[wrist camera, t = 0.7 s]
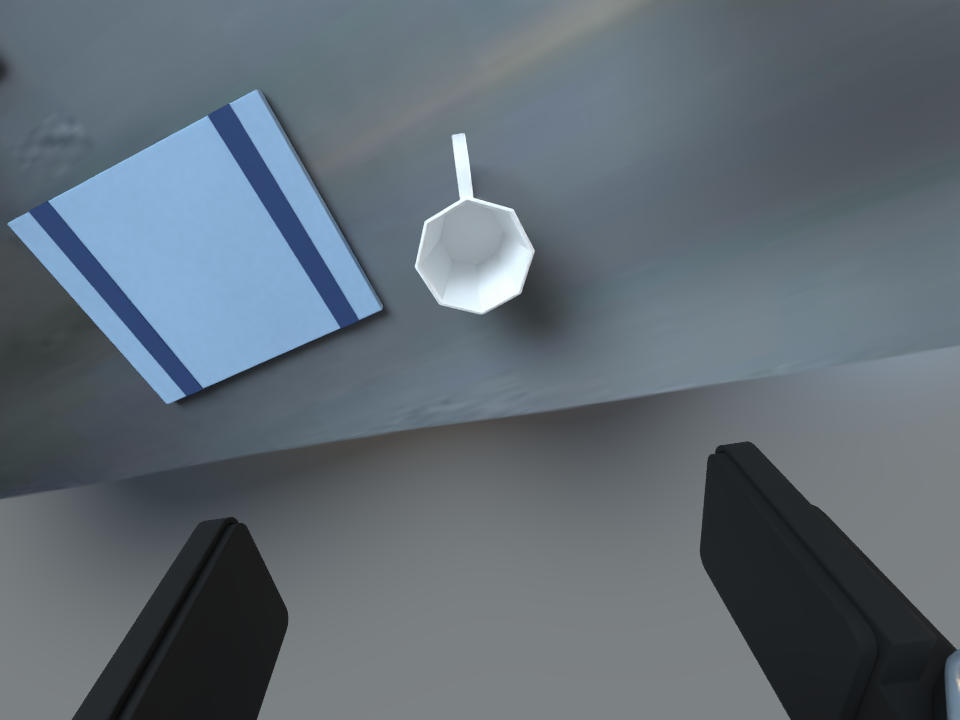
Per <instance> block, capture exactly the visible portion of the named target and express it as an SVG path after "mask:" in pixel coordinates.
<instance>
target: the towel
mask: <svg viewBox="0 0 960 720" xmlns="http://www.w3.org/2000/svg"><path fill="white" fill-rule="evenodd" d="M8 225H9V226H10V228H11V229H12V230H13V231H14V232H15V233H16V234H17V235H18V237H19V238H20V239H21V240H22V241H23V242H24V243H25V244H26V246H27V247H28V248H29V249H30V250H31V251H32V252H33V254H34V255H35V256H36V257H37V258H38V259H39V260H40V261H41V263H42V264H43V265H44V266H45V267H46V268H47V269H48V270H49V272H50V273H51V274H52V275H53V276H54V277H55V278H56V279H57V281H58V282H59V283H60V284H61V285H62V286H63V287H64V288H65V290H66V291H67V292H68V293H69V294H70V295H71V296H72V298H73V299H74V300H75V301H76V302H77V303H78V304H79V305H80V307H81V308H82V309H83V310H84V311H85V312H86V313H87V314H88V316H89V317H90V318H91V319H92V320H93V321H94V322H95V323H96V325H97V326H98V327H99V328H100V329H101V330H102V331H103V332H104V334H105V335H106V336H107V337H108V338H109V339H110V340H111V342H112V343H113V344H114V345H115V346H116V347H117V348H118V349H119V351H120V352H121V353H122V354H123V355H124V356H125V357H126V358H127V360H128V361H129V362H130V363H131V364H132V365H133V366H134V367H135V369H136V370H137V371H138V372H139V373H140V374H141V375H142V376H143V378H144V379H145V380H146V381H147V382H148V383H149V384H150V386H151V387H152V388H153V389H154V390H155V391H156V392H157V393H158V395H159V396H160V397H161V398H162V399H163V400H164V401H165V402H166V404H169V403H172V402H174V401H176V400H178V399H181V398H183V397H185V396H189V395H191V394H193V393H196V392H198V391H200V390H203V388H206V387H208V386H210V385H213V384H215V383H217V382H219V381H222V380H224V379H226V378H228V377H231V376H233V375H235V374H238V373H240V372H242V371H244V370H247V369H249V368H251V367H253V366H256V365H258V364H260V363H263V362H265V361H267V360H269V359H272V358H274V357H276V356H278V355H281V354H283V353H285V352H288V351H290V350H292V349H294V348H297V347H299V346H301V345H303V344H306V343H308V342H310V341H313V340H315V339H317V338H319V337H322V336H324V335H326V334H328V333H331V332H333V331H335V330H338V329H340V328H343V327H346V326H348V325H350V324H353V323H355V322H357V321H359V320H360V319H363V318H365V317H367V316H369V315H372V314H374V313H376V312H378V311H381V310H382V308H383V305H382V303H381V301H380V299H379V298H378V296H377V294H376V292H375V291H374V289H373V287H372V285H371V284H370V282H369V280H368V278H367V277H366V275H365V273H364V271H363V269H362V268H361V266H360V264H359V262H358V261H357V259H356V257H355V255H354V254H353V252H352V250H351V248H350V247H349V245H348V243H347V241H346V239H345V238H344V236H343V234H342V232H341V231H340V229H339V227H338V225H337V224H336V222H335V220H334V218H333V217H332V215H331V213H330V211H329V209H328V208H327V206H326V204H325V202H324V201H323V199H322V197H321V195H320V194H319V192H318V190H317V188H316V186H315V185H314V183H313V181H312V179H311V178H310V176H309V174H308V172H307V171H306V169H305V167H304V165H303V164H302V162H301V160H300V158H299V156H298V155H297V153H296V151H295V149H294V148H293V146H292V144H291V142H290V141H289V139H288V137H287V135H286V134H285V132H284V130H283V128H282V126H281V125H280V123H279V121H278V119H277V118H276V116H275V114H274V112H273V111H272V109H271V107H270V105H269V104H268V102H267V100H266V98H265V96H264V95H263V93H262V91H261V90H255V91H253V92H251V93H249V94H247V95H245V96H243V97H241V98H240V99H238V100H236V101H234V102H232V103H230V104H227V105H225V106H224V107H222V108H220V109H218V110H216V111H214V112H212V113H211V114H209V115H207V116H206V117H204V118H202V119H201V120H199V121H197V122H195V123H193V124H191V125H189V126H188V127H186V128H184V129H182V130H180V131H178V132H176V133H174V134H173V135H171V136H169V137H167V138H165V139H163V140H161V141H160V142H158V143H156V144H154V145H152V146H150V147H148V148H147V149H145V150H143V151H141V152H139V153H137V154H135V155H134V156H132V157H130V158H128V159H126V160H124V161H122V162H120V163H119V164H117V165H115V166H113V167H111V168H109V169H107V170H106V171H104V172H102V173H100V174H98V175H96V176H94V177H93V178H91V179H89V180H87V181H85V182H83V183H81V184H80V185H78V186H76V187H74V188H72V189H70V190H68V191H66V192H65V193H63V194H61V195H59V196H57V197H55V198H53V199H52V200H50V201H47V202H45V203H43V204H41V205H39V206H37V207H36V208H34V209H32V210H30V211H28V212H27V213H26V214H24V215H22V216H20V217H18V218H16V219H14V220H13V221H11V222H9V223H8Z"/></svg>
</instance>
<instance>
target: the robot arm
mask: <svg viewBox="0 0 960 720" xmlns="http://www.w3.org/2000/svg"><path fill="white" fill-rule="evenodd" d="M700 556H701V560H702V563H703V566H704V568H705V570H706V572H707V574H708V575H709V577H710V579H711V581H712V582H713V584H714V586H715V588H716V590H717V591H718V593H719V595H720V597H721V598H722V600H723V602H724V604H725V605H726V607H727V609H728V611H729V612H730V614H731V616H732V618H733V619H734V621H735V623H736V625H737V626H738V628H739V630H740V632H741V633H742V635H743V637H744V639H745V640H746V642H747V644H748V645H749V647H750V649H751V651H752V653H753V654H754V656H755V658H756V660H757V661H758V663H759V665H760V667H761V668H762V670H763V672H764V674H765V675H766V677H767V679H768V681H769V682H770V684H771V686H772V688H773V689H774V691H775V693H776V694H777V696H778V698H779V700H780V702H781V703H782V705H783V707H784V709H785V710H786V712H787V714H788V716H789V717H790V719H791V720H960V650H957V649H956V648H955V647H954V646H953V645H952V644H951V643H950V642H949V641H948V640H947V639H946V638H945V637H944V636H943V635H942V634H941V633H940V632H939V631H938V630H937V629H936V628H935V627H934V626H933V625H932V624H931V623H930V621H929V620H928V619H926V617H925V616H924V615H923V614H922V613H921V612H920V611H919V610H918V609H917V608H916V607H915V606H914V605H913V604H912V603H911V602H910V601H909V600H908V599H907V598H906V597H905V596H904V595H903V593H901V591H900V590H899V589H898V588H897V587H896V586H895V585H894V584H893V583H892V582H891V581H890V580H889V579H888V578H887V577H886V576H885V575H884V574H883V573H882V572H881V571H880V570H879V569H878V568H877V567H876V566H875V565H874V563H873V562H872V561H871V560H870V559H869V558H868V557H867V556H866V555H865V554H864V553H863V552H862V551H861V550H860V549H859V548H858V547H857V546H856V545H855V544H854V543H853V542H852V541H851V540H850V539H849V538H848V537H847V536H846V534H845V533H844V532H843V531H842V530H841V529H840V528H839V527H838V526H837V525H836V524H835V523H834V522H833V521H832V520H831V519H830V518H829V517H828V516H827V515H826V514H825V513H824V512H823V511H822V510H820V509H819V508H818V507H816V506H814V505H811V504H810V503H809V502H808V501H807V500H806V499H805V498H804V497H803V495H802V494H801V493H800V492H799V491H798V490H797V489H796V488H795V487H794V486H793V485H792V484H791V483H790V482H789V481H788V480H787V479H786V477H785V476H784V475H783V474H782V473H781V472H780V471H779V470H778V469H777V468H776V467H775V466H774V465H773V464H772V463H771V462H770V461H769V460H768V459H767V458H766V457H765V455H764V454H762V452H761V451H760V450H759V449H758V448H757V447H756V446H755V445H754V444H752V443H751V442H748V441H747V442H740V443H734V444H727V445H720V446H718V447H717V449H716V451H715V454H711V455H710V456H709V457H708V461H707V473H706V485H705V496H704V508H703V520H702V532H701V543H700ZM287 626H288V611H287V608H286V606H285V604H284V602H283V600H282V598H281V596H280V594H279V592H278V590H277V588H276V586H275V584H274V582H273V580H272V577H271V575H270V573H269V571H268V569H267V567H266V565H265V563H264V561H263V559H262V557H261V555H260V553H259V551H258V549H257V547H256V545H255V542H254V541H253V538H252V536H251V534H250V532H249V530H248V528H247V526H246V525H245V524H243V523H239V522H238V521H237V520H236V519H235V518H233V517H228V518H222V519H215V520H208V521H203V522H201V523H200V524H199V525H198V526H197V527H196V528H195V530H194V531H193V533H192V534H191V536H190V538H189V539H188V541H187V542H186V544H185V545H184V547H183V549H182V550H181V552H180V553H179V555H178V556H177V558H176V559H175V561H174V562H173V564H172V566H171V567H170V568H169V570H168V572H167V573H166V575H165V576H164V578H163V579H162V581H161V582H160V584H159V586H158V587H157V589H156V590H155V592H154V593H153V595H152V596H151V598H150V600H149V601H148V602H147V604H146V606H145V607H144V609H143V610H142V612H141V613H140V615H139V616H138V618H137V619H136V621H135V623H134V624H133V626H132V627H131V629H130V630H129V632H128V633H127V635H126V637H125V638H124V640H123V641H122V643H121V644H120V646H119V647H118V649H117V651H116V653H115V654H114V655H113V657H112V658H111V660H110V661H109V663H108V664H107V666H106V667H105V669H104V671H103V672H102V674H101V675H100V677H99V678H98V680H97V681H96V683H95V685H94V686H93V688H92V689H91V691H90V692H89V694H88V695H87V697H86V698H85V700H84V701H83V703H82V705H81V706H80V708H79V709H78V711H77V712H76V714H75V716H74V717H73V719H72V720H257V717H258V714H259V711H260V708H261V705H262V702H263V699H264V696H265V693H266V690H267V687H268V684H269V681H270V678H271V675H272V672H273V669H274V666H275V663H276V660H277V657H278V654H279V651H280V648H281V645H282V642H283V639H284V636H285V633H286V630H287Z"/></svg>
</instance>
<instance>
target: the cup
mask: <svg viewBox="0 0 960 720" xmlns="http://www.w3.org/2000/svg"><path fill="white" fill-rule="evenodd" d="M452 140H453V149H454V157H455V165H456V172H457V179H458V187H459V194H460V200H459V201H458V202H456V203H454V204H453V205H451V206H449V207H448V208H446V209H444V210H443V211H441V212H440V213H438V214H436V215H435V216H433V217H431V218H430V219H428V220H426V221H425V223H424V228H423V232H422V237H421V241H420V246H419V251H418V255H417V260H416V264H415V268H416V270H417V271H418V273H419V274H420V276H421V277H422V279H423V280H424V282H425V283H426V285H427V286H428V288H429V290H430V291H431V293H432V294H433V296H434V297H435V299H436V300H437V302H438V303H439V305H443V306H447V307H451V308H455V309H459V310H464V311H468V312H472V313H476V314H480V315H483V314H485V313H487V312H488V311H490V310H492V309H494V308H496V307H498V306H499V305H501V304H503V303H505V302H507V301H509V300H510V299H512V298H514V297H516V296H518V295H519V294H521V292H522V289H523V286H524V283H525V279H526V276H527V273H528V270H529V267H530V264H531V261H532V258H533V255H534V252H535V250H534V248H533V246H532V244H531V242H530V241H529V239H528V237H527V235H526V233H525V231H524V229H523V227H522V225H521V223H520V221H519V219H518V217H517V215H516V214H515V212H514V210H513V209H511V208H507V207H503V206H500V205H496V204H493V203H489V202H486V201H482V200H478V199H475V198H473V190H472V182H471V174H470V166H469V159H468V152H467V145H466V138H465V133H462V134H455V135H452Z"/></svg>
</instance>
